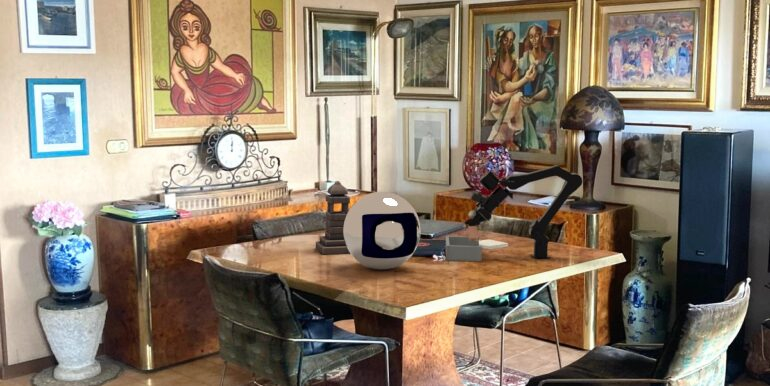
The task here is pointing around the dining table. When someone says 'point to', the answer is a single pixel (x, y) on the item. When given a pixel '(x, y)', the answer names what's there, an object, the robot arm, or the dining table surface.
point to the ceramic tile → (492, 244)
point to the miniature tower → (335, 222)
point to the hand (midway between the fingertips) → (469, 225)
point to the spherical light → (381, 230)
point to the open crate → (462, 249)
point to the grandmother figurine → (472, 227)
